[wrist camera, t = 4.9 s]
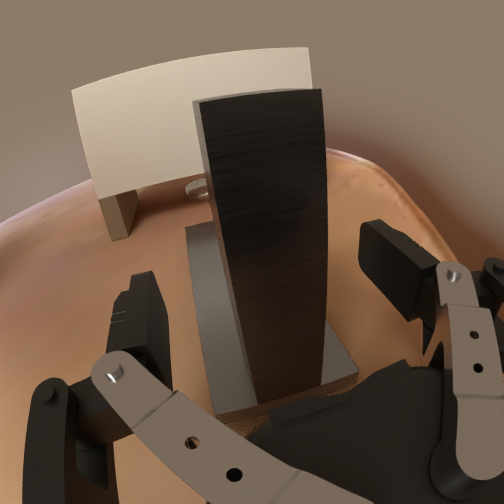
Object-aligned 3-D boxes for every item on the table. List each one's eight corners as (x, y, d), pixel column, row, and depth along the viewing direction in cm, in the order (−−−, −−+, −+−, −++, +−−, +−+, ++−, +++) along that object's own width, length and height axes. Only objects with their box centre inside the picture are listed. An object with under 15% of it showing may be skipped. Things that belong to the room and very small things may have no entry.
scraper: (355, 384, 14) (384, 88, 7) (220, 426, 13) (113, 123, 6) (256, 222, 31) (238, 89, 24) (187, 237, 30) (158, 103, 23)
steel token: (179, 203, 38) (177, 192, 38) (198, 186, 43) (196, 177, 43) (221, 202, 37) (219, 191, 36) (237, 185, 42) (235, 175, 41)
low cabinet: (319, 194, 34) (307, 47, 26) (112, 241, 31) (71, 90, 22) (281, 166, 46) (269, 59, 37) (127, 199, 43) (102, 90, 34)
